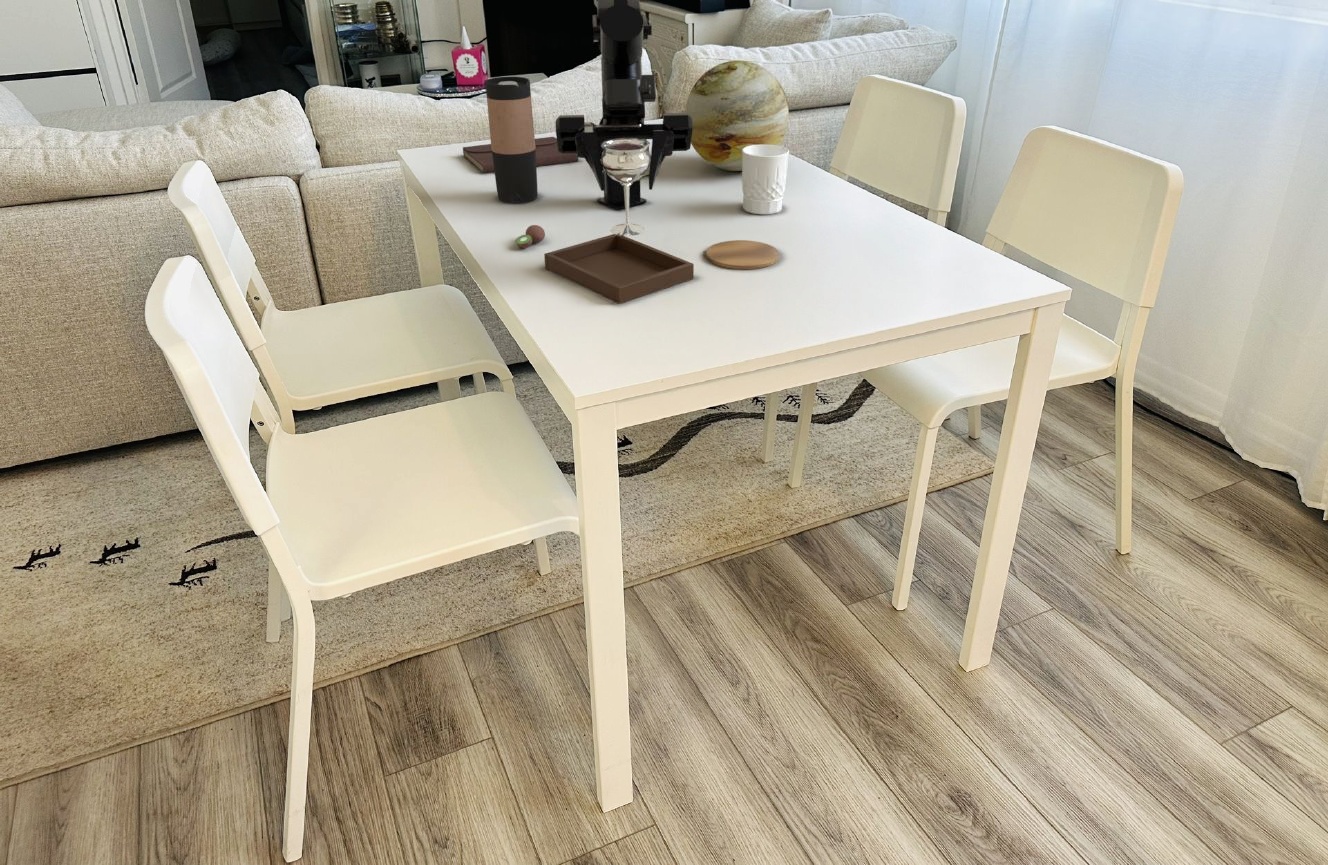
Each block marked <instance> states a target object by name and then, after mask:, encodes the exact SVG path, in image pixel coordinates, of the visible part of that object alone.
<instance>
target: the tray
mask: <svg viewBox="0 0 1328 865" xmlns="http://www.w3.org/2000/svg"><path fill="white" fill-rule="evenodd" d="M543 254H544V255H543V256H544V269H545V270H547V271H550V272H552V273H554V274H556V275H558V276H560V277H562V278H564V279H566V280H569V281H570V282H572V283H574V284H577V285H579V286H581V287H583V288H585V289H587V290H590V291H592V292H594V293H595V294H597V295H600V296H602V297H604V298H606V299H608V300H610V301H612V302H614V303H616V304H619V305H620V304H624V303H627V302H630V301H633V300H636V299H639V298H641V297H644V296H647V295H650V294H654V293H656V292H659V291H662V290H664V289H668V288H670V287H674V286H678V285H680V284H683V283H686V282H688V281H691V280H692V281H693V280H694V278H695V277H694V276H695V275H694V271H695V268H694V266H695V265H694V263H693V262H690V261H688V260H685V259H683V258H681V257H677V256H676V255H673V254H671V253H668V252H666V251H663V250H661V249H657V248H655V247H652V246H651V245H648V244H645V243H643V242H640V241H638V240H636V239H633V238H630V237H629V236H622V235H616V234H614V233H612V234H609V235H605V236H601V237H599V238H595V239H591V240H588V241H584V242H581V243H577V244H574V245H570V246H566V247H563V248H560V249H556V250H552V251H549V252H545V253H543Z"/></svg>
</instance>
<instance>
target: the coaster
mask: <svg viewBox="0 0 1328 865" xmlns="http://www.w3.org/2000/svg"><path fill="white" fill-rule="evenodd" d="M705 257H706V259H707V260H708V261H709V262H710V263H712V264H714V265H716V266H718V267H722V268H726V269H733V270H756V269H763V268H766V267H770V266H772V265H774V264H776V263H777V262H778V260H779V258H780V252H779V250H778V249H777V248H776V247H774V246H773V245H771V244H768V243H766V242H765V243H764V242H761V241H756V240H747V239H746V240H745V239H744V240H743V239H734V240H727V241H721V242H718V243H714V244H712V245H710V246H709V247H707V250H706V251H705Z"/></svg>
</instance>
